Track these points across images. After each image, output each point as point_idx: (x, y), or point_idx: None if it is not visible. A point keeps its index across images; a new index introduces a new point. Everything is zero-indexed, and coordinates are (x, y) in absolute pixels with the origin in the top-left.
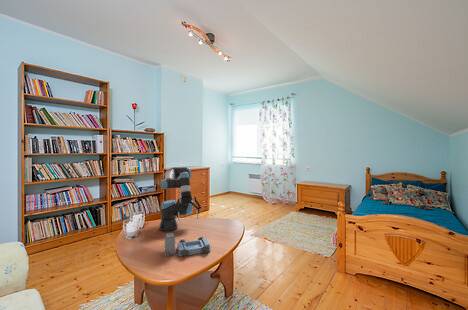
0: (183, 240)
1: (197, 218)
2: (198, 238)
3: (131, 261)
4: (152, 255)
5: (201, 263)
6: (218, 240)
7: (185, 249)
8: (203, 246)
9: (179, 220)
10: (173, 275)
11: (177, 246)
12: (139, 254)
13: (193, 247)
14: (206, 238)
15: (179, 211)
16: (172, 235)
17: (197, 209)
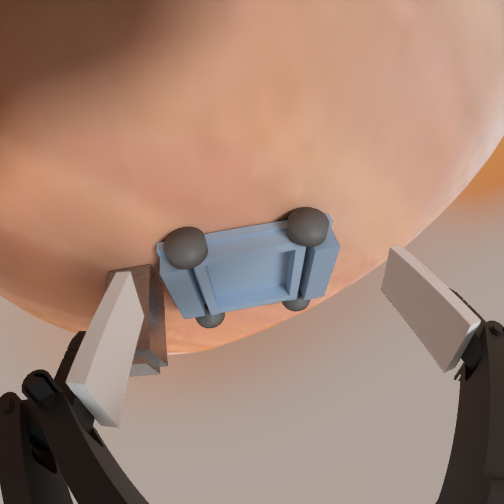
0: (195, 266)
1: (383, 279)
2: (296, 234)
3: (31, 306)
4: (70, 286)
5: (261, 320)
6: (395, 193)
7: (213, 326)
8: (292, 307)
9: (139, 324)
10: (185, 346)
11: (160, 257)
12: (18, 276)
13: (249, 269)
14: (337, 252)
15: None
16: (154, 374)
17: (462, 358)
